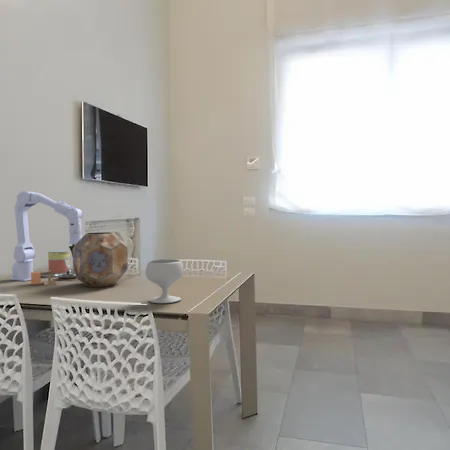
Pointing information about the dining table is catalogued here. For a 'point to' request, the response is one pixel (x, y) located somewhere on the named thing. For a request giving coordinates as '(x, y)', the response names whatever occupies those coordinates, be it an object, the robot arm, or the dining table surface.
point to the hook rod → (40, 277)
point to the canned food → (59, 261)
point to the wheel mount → (65, 279)
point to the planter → (100, 259)
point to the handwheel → (68, 274)
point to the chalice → (164, 277)
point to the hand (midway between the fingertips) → (76, 260)
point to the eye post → (49, 279)
